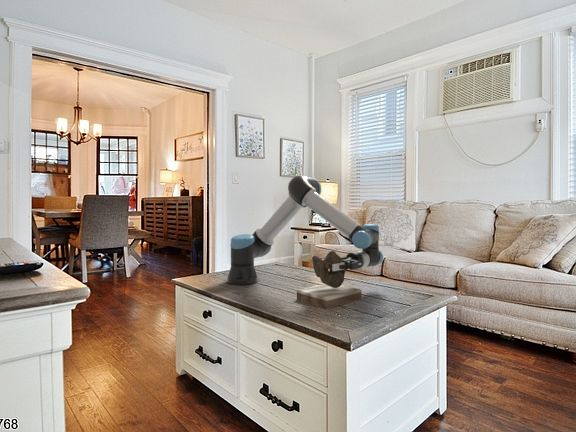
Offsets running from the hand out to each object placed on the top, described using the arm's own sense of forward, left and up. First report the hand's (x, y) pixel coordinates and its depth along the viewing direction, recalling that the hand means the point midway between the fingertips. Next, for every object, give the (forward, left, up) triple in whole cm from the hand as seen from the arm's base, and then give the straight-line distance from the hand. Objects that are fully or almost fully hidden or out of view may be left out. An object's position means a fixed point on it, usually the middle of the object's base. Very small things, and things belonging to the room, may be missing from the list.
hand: (322, 265), depth 149 cm
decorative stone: (0, +4, -9) cm, 10 cm away
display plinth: (0, +4, -14) cm, 15 cm away
